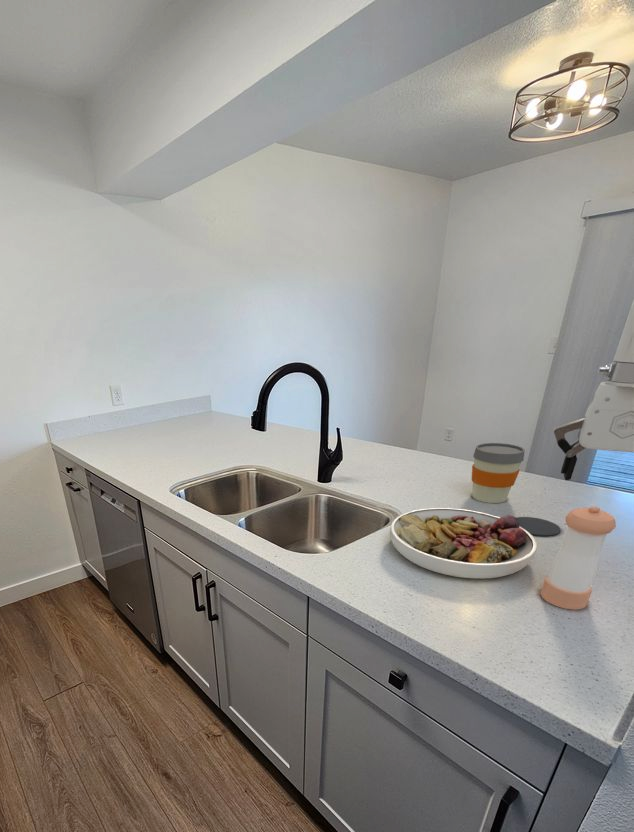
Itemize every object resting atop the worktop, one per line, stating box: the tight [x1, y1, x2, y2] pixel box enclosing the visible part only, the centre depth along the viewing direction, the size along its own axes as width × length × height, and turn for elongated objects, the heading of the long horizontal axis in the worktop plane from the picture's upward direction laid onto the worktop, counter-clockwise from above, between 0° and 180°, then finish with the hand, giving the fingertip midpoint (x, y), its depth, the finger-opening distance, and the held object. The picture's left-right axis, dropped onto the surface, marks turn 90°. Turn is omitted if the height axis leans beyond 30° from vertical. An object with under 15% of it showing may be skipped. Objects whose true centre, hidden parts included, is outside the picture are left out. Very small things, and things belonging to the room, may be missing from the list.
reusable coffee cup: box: [471, 442, 526, 504], centre depth 127 cm, size 13×13×15 cm
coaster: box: [516, 516, 561, 537], centre depth 111 cm, size 11×11×1 cm
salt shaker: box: [540, 505, 617, 611], centre depth 80 cm, size 7×7×19 cm
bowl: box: [389, 507, 538, 580], centre depth 101 cm, size 30×30×8 cm
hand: (601, 481), depth 73 cm, fingers open, 9 cm apart
